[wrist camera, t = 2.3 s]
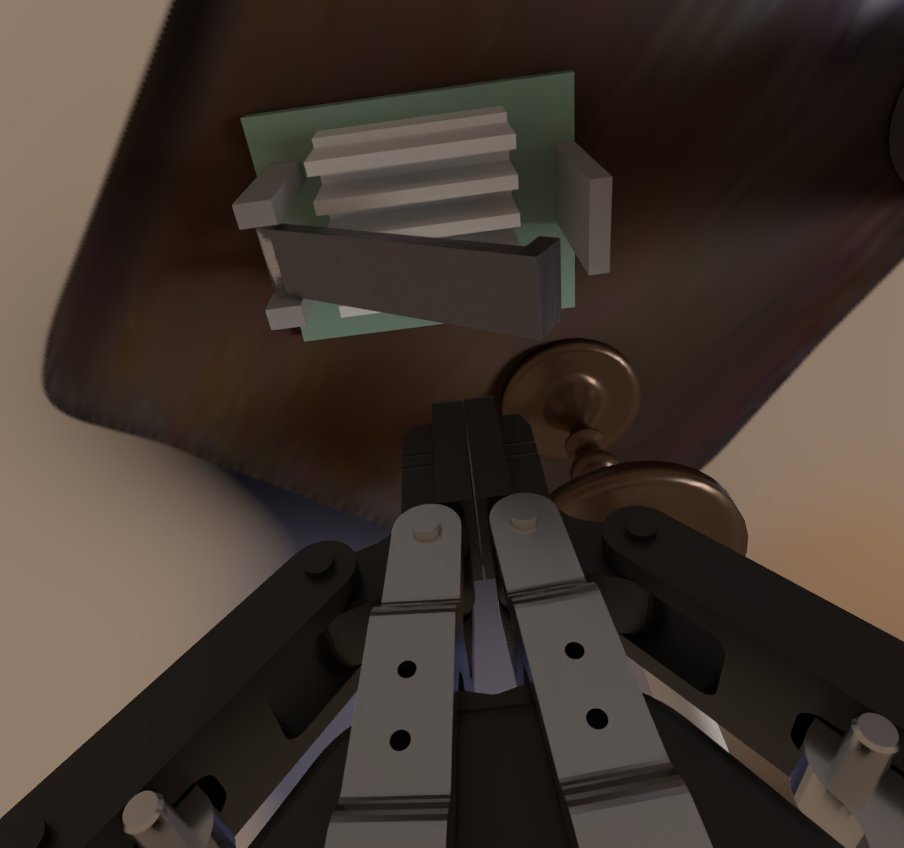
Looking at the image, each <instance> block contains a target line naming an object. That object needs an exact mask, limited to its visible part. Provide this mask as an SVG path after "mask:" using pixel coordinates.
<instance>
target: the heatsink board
mask: <svg viewBox="0 0 904 848" xmlns="http://www.w3.org/2000/svg"><path fill="white" fill-rule="evenodd" d="M240 119H241V122H242V126H243V129H244V133H245V136H246V140H247V143H248V147H249V150H250V154H251V157H252V161H253V164H254V168H255V171H256V175H257V178H256V179H255V180H254V181H253V182H252V183H251V184H250V185H249V186H248V187H247V189H246V190H245V191H244V192H243V193H242V194H241V195H240V196H239V197H238V199H237V200H236V201H235V202H234V203H233V204H232V207H233V211H234V214H235V217H236V220H237V223H238V226H239V230H241V229H248V228H256V227H263V226H271V225H278V224H281V223H284V224H295V225H306V226H316V227H327V228H337V229H348V230H359V231H369V232H380V233H391V234H401V235H412V236H423V237H433V238H444V239H455V240H465V241H476V242H487V243H497V244H508V245H519V246H527V245H528V244H529V243H531V242H532V241H533V240H535V239H536V238H537V237H538V236H543V237H555V238H560V245H561V308H562V309H563V308H571V307H575V254H576V255H577V257H578V258H579V260H580V262H581V263H582V265H583V267H584V268H585V270H586V272H587V273H588V275H595V274H603V273H609V272H610V241H611V209H612V178H613V177H612V176H611V175H610V174H609V173H608V172H607V171H606V170H605V169H604V168H603V167H601V166H600V165H599V164H598V163H597V162H596V161H595V160H594V159H593V158H592V157H591V156H590V155H589V154H587V153H586V152H585V151H584V150H583V149H582V148H581V147H580V146H579V145H578V144H577V143H576V142H575V131H574V71H572V70H564V71H557V72H550V73H543V74H536V75H528V76H521V77H514V78H507V79H500V80H493V81H485V82H478V83H471V84H464V85H457V86H450V87H442V88H435V89H428V90H421V91H414V92H407V93H399V94H392V95H385V96H378V97H371V98H364V99H356V100H349V101H342V102H335V103H328V104H321V105H313V106H306V107H299V108H292V109H285V110H278V111H270V112H263V113H256V114H249V115H244V116H243V117H241V118H240ZM265 311H266V314H267V318H268V321H269V324H270V327H271V330H278V329H285V328H293V327H300V328H301V331H302V335H303V338H304V341H311V340H319V339H327V338H335V337H343V336H351V335H359V334H366V333H374V332H382V331H390V330H398V329H406V328H414V327H421V326H429V325H437V324H445V323H439V322H433V321H428V320H422V319H416V318H411V317H405V316H399V315H394V314H388V313H382V312H377V311H371V310H365V309H360V308H354V307H348V306H343V305H337V304H331V303H326V302H320V301H314V300H309V299H303V298H297V297H292V296H287V295H276V294H275V292H274V293H273V295H272V297H271V299H270V301H269V303H268V305H267V307H266V309H265Z"/></svg>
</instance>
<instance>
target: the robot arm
mask: <svg viewBox="0 0 904 848" xmlns="http://www.w3.org/2000/svg"><path fill="white" fill-rule="evenodd" d="M889 147H890V156H891V159H892V162H893V166H894V169H895V170H896V172H897V173H898V175H899V176H900V178H901V179H902V181H903V182H904V88H903V89H902V91H901V93H900V96H899V98H898V101H897V104H896V107H895V109H894V112H893V115H892V121H891V127H890V132H889ZM464 402H465V411H466V419H467V427H468V435H469V444H470V452H471V460H472V469H473V477H474V485H475V494H476V502H477V510H478V518H479V526H480V534H481V542H482V550H483V559H484V567H485V574H486V579H493V578H495V580H496V587H497V594H498V603H499V612H500V616H501V621H502V625H503V629H504V634H505V638H506V642H507V647H508V651H509V655H510V660H511V664H512V669H513V673H514V677H515V682H516V686H517V687H516V688H513V689H510V690H508V691H505V692H502V693H499V694H494V695H491V694H483V693H475V648H474V647H475V637H474V636H475V635H474V634H475V631H474V607H473V606H474V602H475V591H474V581H477V580H483V576H482V567H481V558H480V550H479V541H478V532H477V524H476V515H475V506H474V498H473V489H472V480H471V472H470V463H469V455H468V447H467V439H466V431H465V424H464V416H463V408H462V400H456V401H448V402H439V403H432V424H430V425H422V426H414V427H412V428H411V430H410V431H409V433H408V434H407V436H406V437H405V439H404V440H403V471H402V504H401V516H400V517H398V519H397V520H396V521H395V523H394V525H393V529H392V533H391V534H390V535H389V536H388V537H387V538H385V539H384V540H382V541H380V542H379V543H377V544H374V545H372V546H370V547H367V548H364V549H362V550H359V551H357V552H354V551H353V550H352V549H351V548H350V547H349V546H348V545H346V544H344V543H342V542H338V541H322V542H317V543H314V544H311V545H309V546H307V547H305V548H303V549H302V550H300V551H299V552H297V553H296V554H295V555H294V556H293V557H292V558H290V559H289V560H288V561H287V562H286V563H285V564H284V565H283V566H282V567H281V568H279V569H278V570H277V571H276V572H275V573H274V574H273V575H272V576H270V577H269V578H268V579H267V580H266V581H265V582H264V583H263V584H262V585H260V586H259V587H258V588H257V589H256V590H255V591H254V592H253V593H252V594H250V595H249V596H248V597H247V598H246V599H245V600H244V601H243V602H242V603H240V604H239V605H238V606H237V607H236V608H235V609H234V610H233V611H231V612H230V613H229V614H228V615H227V616H226V617H225V618H224V619H223V620H221V621H220V622H219V623H218V624H217V625H216V626H215V627H214V628H212V629H211V630H210V631H209V632H208V633H207V634H206V635H205V636H204V637H202V638H201V639H200V640H199V641H198V642H197V643H196V644H195V645H193V646H192V647H191V648H190V649H189V650H188V651H187V652H186V653H185V654H183V655H182V656H181V657H180V658H179V659H178V660H177V661H176V662H175V663H173V664H172V665H171V666H170V667H169V668H168V669H167V670H166V671H165V672H164V673H162V674H161V675H160V676H159V677H158V678H157V679H156V680H154V681H153V682H152V683H151V684H150V685H149V686H148V687H147V688H146V689H144V690H143V691H142V692H141V693H140V694H139V695H138V696H137V697H135V698H134V699H133V700H132V701H131V702H130V703H129V704H128V705H127V706H125V707H124V708H123V709H122V710H121V711H120V712H119V713H118V714H117V715H115V716H114V717H113V718H112V719H111V720H110V721H109V722H108V723H107V724H105V725H104V726H103V727H102V728H101V729H100V730H99V731H98V732H96V733H95V734H94V735H93V736H92V737H91V738H90V739H89V740H88V741H86V742H85V743H84V744H83V745H82V746H81V747H80V748H79V749H78V750H77V751H75V752H74V753H73V754H72V755H71V756H70V757H69V758H68V759H67V760H65V761H64V762H63V763H62V764H61V765H60V766H59V767H57V768H56V769H55V770H54V771H53V772H52V773H51V774H50V775H49V776H47V777H46V778H45V779H44V780H43V781H42V782H41V783H40V784H39V785H37V786H36V787H35V788H34V789H33V790H32V791H31V792H30V793H29V794H27V795H26V796H25V797H24V798H23V799H22V800H21V801H20V802H18V804H16V805H15V806H14V807H13V808H12V809H11V810H10V811H8V812H7V813H6V814H5V815H4V816H3V817H2V818H1V819H0V848H236V844H235V836H236V834H237V833H238V832H239V831H240V829H241V828H242V827H243V826H244V825H245V824H246V823H247V821H248V820H249V819H250V818H251V817H252V815H253V814H254V813H255V812H256V810H257V809H258V808H259V807H260V806H261V805H262V803H263V802H264V801H265V800H266V799H267V797H268V796H269V795H270V794H271V793H272V792H273V790H274V789H275V788H276V787H277V786H278V784H279V783H280V782H281V781H282V780H283V778H284V777H285V776H286V775H287V774H288V772H289V771H290V770H291V769H292V768H293V766H294V765H295V764H296V763H297V762H298V761H299V759H300V758H301V757H302V756H303V755H304V753H305V752H306V751H307V750H308V749H309V747H310V746H311V745H312V744H313V743H314V742H315V740H316V739H317V738H318V736H319V735H320V734H321V733H322V732H323V731H324V730H325V728H326V727H327V726H328V725H329V724H330V722H331V721H332V720H333V719H334V718H335V716H336V715H337V714H338V713H339V712H340V711H341V709H342V708H343V707H344V705H346V703H347V702H348V701H349V700H350V699H351V697H352V696H353V695H354V693H356V691H357V690H358V691H357V697H356V703H355V709H354V716H353V721H352V726H351V727H349V728H348V729H346V730H345V731H344V732H342V733H341V734H340V735H339V736H338V737H337V738H335V739H334V740H333V741H332V742H331V743H330V744H329V745H328V746H327V747H326V748H325V749H324V750H323V751H322V753H321V754H320V755H319V756H318V758H317V759H316V760H315V761H314V763H313V764H312V765H311V767H310V768H309V769H308V771H307V772H306V773H305V774H304V776H303V777H302V778H301V780H300V781H299V782H298V784H297V785H296V786H295V787H294V789H293V790H292V791H291V792H290V794H289V795H288V796H287V798H286V799H285V800H284V801H283V803H282V804H281V805H280V807H279V808H278V809H277V811H276V812H275V813H274V814H273V816H272V817H271V818H270V820H269V821H268V822H267V823H266V825H265V826H264V827H263V829H262V830H261V831H260V833H259V834H258V835H257V836H256V838H255V839H254V840H253V842H252V843H251V844H250V845H249V847H248V848H904V642H903V641H901V640H899V639H898V638H896V637H894V636H892V635H890V634H888V633H886V632H884V631H883V630H881V629H879V628H877V627H875V626H873V625H872V624H870V623H868V622H866V621H864V620H862V619H860V618H858V617H857V616H855V615H853V614H851V613H849V612H847V611H845V610H844V609H842V608H840V607H838V606H836V605H834V604H832V603H831V602H829V601H827V600H825V599H823V598H821V597H819V596H817V595H815V594H814V593H812V592H810V591H808V590H806V589H804V588H803V587H801V586H798V585H797V584H795V583H793V582H791V581H790V580H788V579H786V578H784V577H782V576H780V575H778V574H776V573H775V572H773V571H771V570H769V569H767V568H765V567H763V566H762V565H760V564H758V563H756V562H754V561H752V560H750V559H748V558H746V557H745V556H743V555H741V554H739V553H737V552H736V551H734V550H732V549H730V548H728V547H726V546H724V545H722V544H721V543H719V542H717V541H715V540H713V539H711V538H709V537H708V536H706V535H704V534H702V533H700V532H698V531H696V530H695V529H693V528H691V527H689V526H687V525H685V524H683V523H681V522H680V521H678V520H676V519H674V518H672V517H670V516H668V515H667V514H665V513H663V512H661V511H659V510H656V509H653V508H650V507H645V506H627V507H623V508H619V509H617V510H615V511H613V512H612V513H610V514H609V515H608V516H607V517H606V519H605V520H604V523H603V522H596V521H588V520H582V519H578V518H574V517H572V516H569V515H567V514H565V513H564V512H562V511H561V510H559V509H558V508H557V506H556V505H555V504H554V503H553V502H552V500H551V498H550V495H549V492H548V488H547V484H546V481H545V477H544V473H543V469H542V466H541V462H540V458H539V454H538V451H537V447H536V443H535V440H534V436H533V432H532V428H531V425H530V424H529V423H528V422H527V421H526V420H525V419H524V418H523V417H522V416H520V415H519V414H511V415H503V416H498V413H497V408H496V403H495V398H494V396H487V397H479V398H471V399H464ZM627 656H628V657H630V658H631V659H632V660H634V661H635V662H636V663H637V664H639V665H640V666H642V667H643V668H644V669H645V670H647V671H648V672H649V673H651V674H652V675H653V676H655V677H656V678H658V679H659V680H660V681H662V682H663V683H664V684H666V685H667V686H668V687H670V688H671V689H672V690H674V691H675V692H676V693H678V694H679V695H680V696H682V697H683V698H684V699H686V700H687V701H688V702H690V703H691V704H692V705H694V706H695V707H696V708H698V709H699V710H700V711H702V712H703V713H704V714H706V715H707V716H708V717H710V718H711V719H712V720H714V721H715V722H717V723H718V724H720V725H721V726H722V727H723V728H725V729H726V730H727V731H729V732H730V733H731V734H733V735H734V736H735V737H737V738H738V739H739V740H741V741H742V742H743V743H745V744H746V745H747V746H749V747H750V748H751V749H753V750H754V751H755V752H757V753H758V754H759V755H761V756H762V757H763V758H765V759H766V760H768V761H769V762H770V763H771V764H773V765H774V766H775V767H777V768H778V769H780V770H781V771H782V772H784V773H785V774H786V775H788V776H789V777H790V785H791V791H792V794H793V797H794V799H795V801H796V803H797V805H798V807H799V809H800V810H801V811H800V810H799V809H797V808H796V807H795V806H794V805H792V804H791V803H790V802H788V801H787V800H786V799H785V798H784V797H783V796H781V795H780V794H779V793H778V792H776V791H775V790H774V789H773V788H772V787H770V786H769V785H768V784H767V783H765V782H764V781H763V780H762V779H760V778H759V777H758V776H757V775H756V774H754V773H753V772H752V771H751V770H749V769H748V768H747V767H746V766H745V765H743V764H742V763H741V762H740V761H738V760H737V759H736V758H735V757H733V756H732V755H731V754H730V753H729V752H727V751H726V750H725V749H724V748H722V747H721V746H720V745H719V744H718V743H716V742H715V741H714V740H713V739H711V738H710V737H709V736H708V735H706V734H705V733H704V732H703V731H702V730H700V729H699V728H698V727H697V726H695V725H694V724H693V723H692V722H691V721H689V720H688V719H687V718H686V717H684V716H683V715H682V714H680V713H679V712H677V711H676V710H674V709H673V708H671V707H670V706H668V705H666V704H665V703H663V702H661V701H659V700H657V699H655V698H653V697H651V696H649V695H646V694H644V693H642V692H641V690H640V687H639V685H638V683H637V680H636V677H635V675H634V673H633V670H632V668H631V665H630V663H629V660H628V658H627Z"/></svg>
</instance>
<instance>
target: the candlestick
mask: <svg viewBox="0 0 904 848" xmlns="http://www.w3.org/2000/svg"><path fill="white" fill-rule="evenodd" d="M640 401H641V389H640V384H639V381H638V378H637V375H636V373H635V372H634V370H633V368H632V367H631V365H630V363H629V362H628V360H627V359H626V358H625V357H624V356H623V355H622V354H621V353H620V352H619V351H618V350H616V349H614V348H613V347H611V346H609V345H608V344H605V343H602V342H599V341H596V340H590V339H583V338H577V339H565V340H560V341H556V342H552V343H550V344H547V345H545V346H542V347H540V348H538V349H537V350H535V351H533V352H532V353H530V354H529V355H527V356H526V357H525V358H524V359H523V360H522V361H521V362H519V363H518V364H517V365H516V367H515V368H514V369H513V371H512V372H511V373H510V375H509V376H508V379H507V381H506V383H505V385H504V387H503V391H502V395H501V412H502V416H503V415H511V414H519V415H520V416H522V417H523V418H524V419H525V420H526V421H527V422H528V423H529V424H530V425H531V428H532V432H533V436H534V440H535V443H536V447H537V451H538V454H539V458H541V459H544V460H548V461H558V462H564V461H573V464H572V467H571V470H570V476H571V479H572V480H571V481H569V482H567V483H565V484H563V485H561V486H560V487H558V488H557V489H556V490H554V491H553V492H552V493H550V494H549V495H550V498H551V500H552V502H553V503H554V504H555V505H556V506H557V508H558V509H559V510H561V511H562V512H564V513H565V514H567V515H569V516H572V517H574V518H578V519H582V520H588V521H596V522H603V523H604V520H605V519H606V517H607V516H608V515H609V514H610V513H612V512H613V511H615V510H617V509H619V508H623V507H627V506H645V507H650V508H653V509H656V510H659V511H661V512H663V513H665V514H667V515H668V516H670V517H672V518H674V519H676V520H678V521H680V522H681V523H683V524H685V525H687V526H689V527H691V528H693V529H695V530H696V531H698V532H700V533H702V534H704V535H706V536H708V537H709V538H711V539H713V540H715V541H717V542H719V543H721V544H722V545H724V546H726V547H728V548H730V549H732V550H734V551H736V552H737V553H739V554H741V555H743V556H745V555H746V552H747V542H748V534H747V529H746V525H745V520H744V519H743V517H742V515H741V514H740V512H739V510H738V508H737V507H736V505H735V504H734V502H733V500H732V499H731V497H730V496H729V494H728V493H727V491H726V490H725V489H724V488H723V487H722V486H721V485H720V484H719V483H718V482H716V480H714V479H713V478H711V477H709V476H708V475H706V474H704V473H702V472H700V471H699V470H697V469H694V468H690V467H687V466H684V465H680V464H677V463H670V462H661V461H636V462H625V463H621V464H619V461H618V459H617V458H616V457H615V456H614V455H613V454H612V453H610V452H608V451H606V449H607V448H609V447H610V446H612V445H613V444H614V443H616V442H617V441H618V440H620V438H621V437H622V436H623V435H624V434H625V433H626V432H627V431H628V430H629V428H630V427H631V425H632V424H633V422H634V421H635V418H636V416H637V413H638V411H639V407H640ZM644 671H645V674H646V677H647V680H648V683H649V686H650V689H651V692H652V695H653V698H655V699H657V700H659V701H661V702H663V703H665V704H666V705H668V706H670V707H671V708H673V709H674V710H676V711H677V712H679V713H680V714H682V715H683V716H684V717H686V718H687V719H688V720H689V721H691V722H692V723H693V724H694V725H695V726H697V727H698V728H699V729H700V730H702V731H703V732H704V733H705V734H706V735H708V736H709V737H710V738H711V739H713V740H714V741H715V742H716V743H718V744H719V745H720V746H721V747H722V748H724V749H725V750H726V751H727V752H729V751H728V749H727V746H726V744H725V742H724V739H723V737H722V734H721V732H720V730H719V727H718V724H717V722H715V721H714V720H712V719H711V718H710V717H708V716H707V715H706V714H704V713H703V712H702V711H700V710H699V709H698V708H696V707H695V706H694V705H692V704H691V703H690V702H688V701H687V700H686V699H684V698H683V697H682V696H680V695H679V694H678V693H676V692H675V691H674V690H672V689H671V688H670V687H668V686H667V685H666V684H664V683H663V682H662V681H660V680H659V679H658V678H656V677H655V676H653V675H652V674H651V673H649V672H648V671H647V670H645V669H644Z"/></svg>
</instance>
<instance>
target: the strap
mask: <svg viewBox="0 0 904 848" xmlns="http://www.w3.org/2000/svg"><path fill="white" fill-rule="evenodd" d="M255 229H256V233H257V236H258V239H259V243H260V246H261V249H262V253H263V256H264V259H265V262H266V266H267V269H268V272H269V276H270V279H271V282H272V286H273V289H274V292H275V294H276V295H287V296H292V297H297V298H303V299H309V300H314V301H320V302H326V303H331V304H337V305H343V306H348V307H354V308H360V309H365V310H371V311H377V312H382V313H388V314H394V315H399V316H405V317H411V318H416V319H422V320H428V321H433V322H439V323H445V324H450V325H456V326H462V327H467V328H473V329H479V330H484V331H490V332H496V333H501V334H507V335H513V336H518V337H524V338H529V339H535V340H541V339H542V338H543V337H544V336H545V335H546V334H547V333H548V332H549V331H550V330H551V329H552V328H553V327H554V326H555V325H556V324H557V323H558V322H559V321H560V320H561V319H562V308H561V245H560V238H555V237H543V236H538V237H537V238H536V239H535V240H533V241H532V242H531V243H529V244H528V245H527V246H519V245H508V244H497V243H487V242H476V241H465V240H455V239H444V238H433V237H423V236H412V235H401V234H391V233H380V232H369V231H359V230H348V229H337V228H327V227H316V226H306V225H295V224H284V223H281V224H278V225H271V226H263V227H256V228H255Z"/></svg>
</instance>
